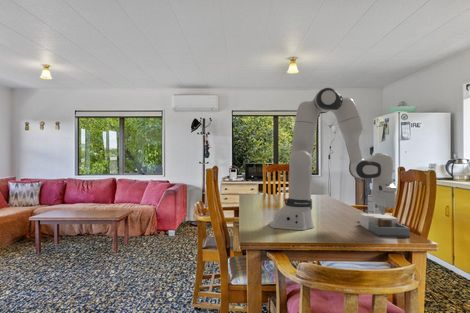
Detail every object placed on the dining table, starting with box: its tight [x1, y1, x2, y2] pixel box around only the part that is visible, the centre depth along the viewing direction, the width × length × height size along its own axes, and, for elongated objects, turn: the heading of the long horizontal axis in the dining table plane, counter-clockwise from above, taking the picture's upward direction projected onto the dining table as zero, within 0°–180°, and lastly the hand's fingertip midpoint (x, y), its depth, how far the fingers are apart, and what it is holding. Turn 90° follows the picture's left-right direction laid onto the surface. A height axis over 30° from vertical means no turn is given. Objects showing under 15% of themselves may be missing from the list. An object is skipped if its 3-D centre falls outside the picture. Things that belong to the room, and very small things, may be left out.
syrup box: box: [367, 194, 379, 214], centre depth 179 cm, size 6×6×14 cm
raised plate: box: [359, 212, 399, 231], centre depth 160 cm, size 14×12×6 cm
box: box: [368, 222, 411, 238], centre depth 148 cm, size 14×12×4 cm
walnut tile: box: [378, 219, 392, 227], centre depth 152 cm, size 5×5×3 cm
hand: (381, 214), depth 155 cm, fingers closed
